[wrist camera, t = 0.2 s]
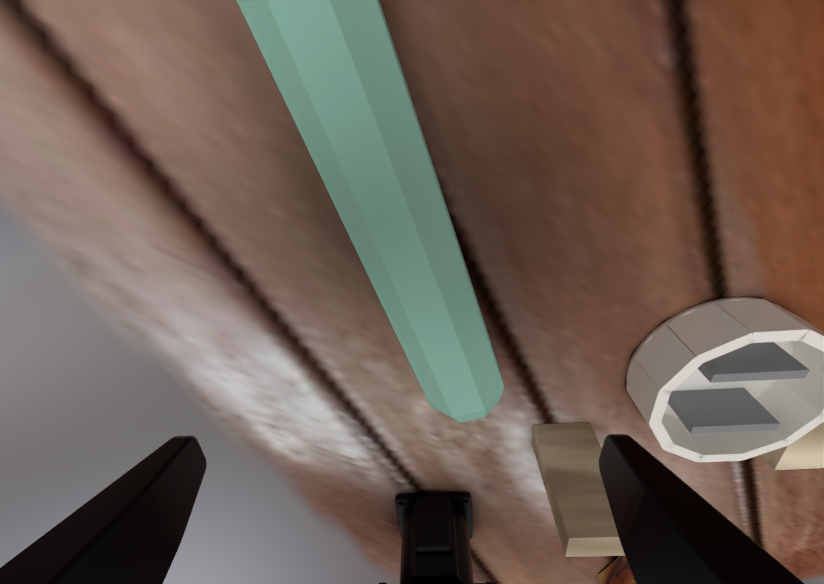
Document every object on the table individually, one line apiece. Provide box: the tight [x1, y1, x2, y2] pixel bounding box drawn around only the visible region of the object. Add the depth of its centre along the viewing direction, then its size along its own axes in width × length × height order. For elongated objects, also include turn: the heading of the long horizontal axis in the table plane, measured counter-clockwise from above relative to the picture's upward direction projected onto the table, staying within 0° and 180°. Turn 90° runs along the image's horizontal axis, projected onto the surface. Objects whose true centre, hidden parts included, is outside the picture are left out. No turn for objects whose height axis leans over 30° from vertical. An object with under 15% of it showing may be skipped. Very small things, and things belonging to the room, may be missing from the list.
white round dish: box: [626, 297, 824, 462], centre depth 24 cm, size 10×10×3 cm
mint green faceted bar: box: [237, 0, 504, 423], centre depth 19 cm, size 6×6×25 cm
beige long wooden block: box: [532, 422, 625, 557], centre depth 25 cm, size 2×4×8 cm, turn 95°
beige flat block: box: [761, 422, 824, 470], centre depth 27 cm, size 8×4×2 cm, turn 6°
